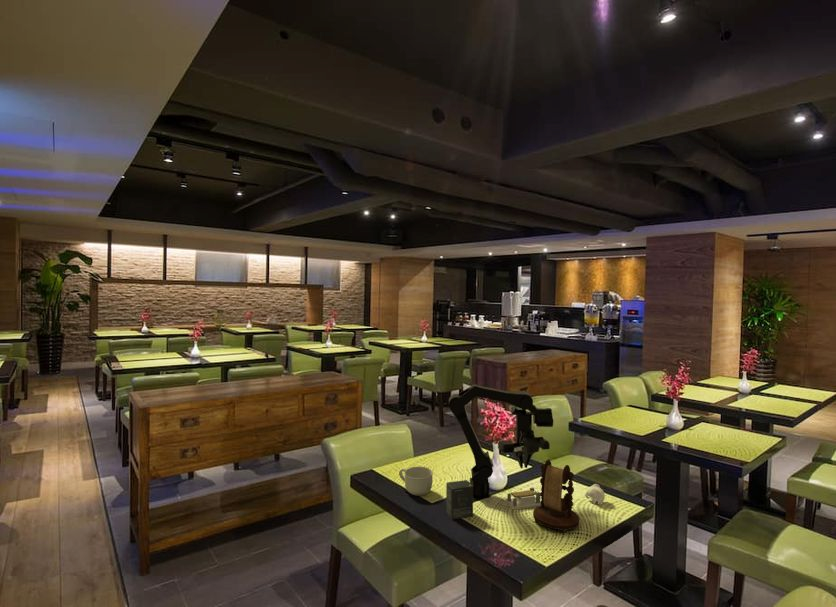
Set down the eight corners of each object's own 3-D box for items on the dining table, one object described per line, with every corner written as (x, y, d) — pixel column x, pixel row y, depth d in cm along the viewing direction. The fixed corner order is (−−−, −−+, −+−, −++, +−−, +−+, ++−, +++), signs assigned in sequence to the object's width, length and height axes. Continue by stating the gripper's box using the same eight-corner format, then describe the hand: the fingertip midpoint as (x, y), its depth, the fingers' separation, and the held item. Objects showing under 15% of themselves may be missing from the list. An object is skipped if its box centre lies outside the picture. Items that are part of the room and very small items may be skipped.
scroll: (524, 522, 148) (525, 462, 148) (545, 508, 159) (546, 451, 159) (567, 539, 138) (568, 475, 138) (586, 522, 149) (587, 462, 149)
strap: (514, 498, 160) (514, 495, 160) (510, 494, 162) (510, 492, 162) (538, 494, 163) (538, 492, 163) (533, 491, 165) (534, 489, 165)
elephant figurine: (586, 496, 169) (586, 480, 169) (608, 501, 165) (609, 485, 165) (582, 503, 163) (582, 487, 163) (606, 508, 159) (606, 492, 159)
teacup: (438, 492, 171) (438, 471, 171) (419, 501, 163) (419, 479, 163) (411, 481, 180) (411, 462, 180) (392, 490, 172) (392, 469, 172)
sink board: (514, 509, 157) (514, 497, 157) (504, 501, 164) (504, 489, 164) (543, 505, 161) (544, 493, 161) (533, 497, 168) (533, 486, 168)
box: (466, 509, 157) (466, 479, 157) (473, 517, 152) (473, 485, 152) (445, 512, 155) (446, 481, 155) (451, 520, 149) (452, 488, 149)
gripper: (510, 434, 157) (510, 478, 157) (558, 430, 161) (557, 473, 162) (497, 425, 168) (497, 467, 168) (542, 422, 172) (541, 462, 172)
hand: (523, 467), depth 167 cm, fingers closed
